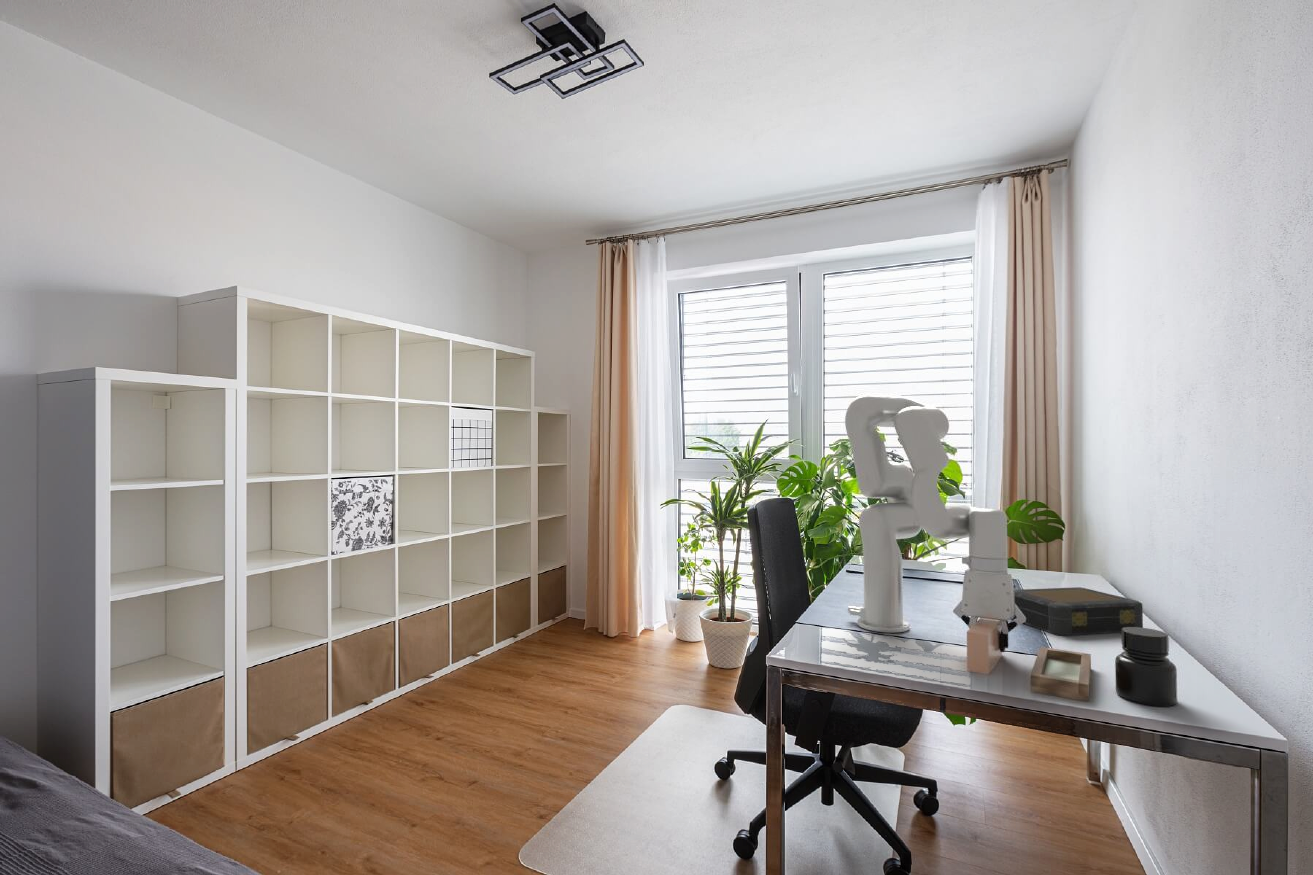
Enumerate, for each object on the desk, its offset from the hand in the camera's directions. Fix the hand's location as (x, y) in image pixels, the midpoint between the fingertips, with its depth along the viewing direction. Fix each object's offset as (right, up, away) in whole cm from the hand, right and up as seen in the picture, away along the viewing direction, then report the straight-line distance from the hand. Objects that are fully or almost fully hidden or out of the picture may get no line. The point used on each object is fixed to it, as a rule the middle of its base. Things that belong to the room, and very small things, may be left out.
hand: (989, 647), depth 142 cm
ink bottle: (+16, -1, -24) cm, 29 cm away
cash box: (+36, -3, +28) cm, 46 cm away
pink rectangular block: (-3, -2, -4) cm, 5 cm away
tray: (+7, -1, -15) cm, 16 cm away
